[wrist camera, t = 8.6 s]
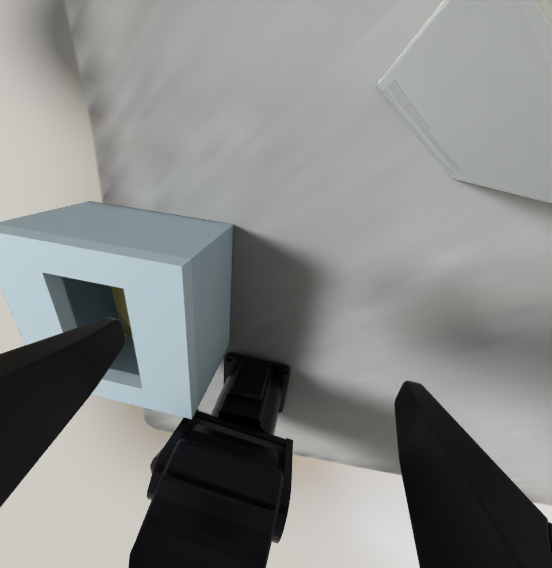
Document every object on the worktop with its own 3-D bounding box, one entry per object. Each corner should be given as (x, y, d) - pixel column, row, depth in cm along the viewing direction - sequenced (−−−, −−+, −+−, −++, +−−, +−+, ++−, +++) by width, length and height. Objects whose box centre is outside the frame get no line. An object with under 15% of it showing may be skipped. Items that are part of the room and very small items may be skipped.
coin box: (229, 345, 26) (191, 419, 19) (116, 321, 27) (42, 382, 20) (233, 224, 20) (181, 266, 13) (89, 201, 21) (-27, 228, 14)
